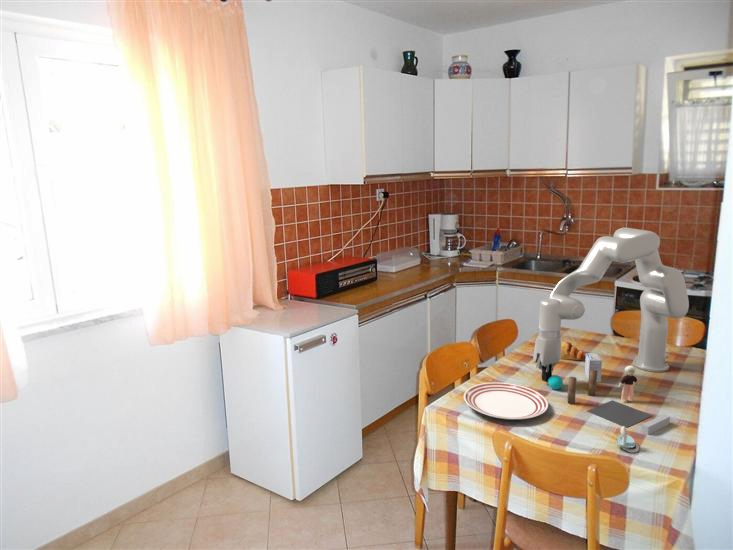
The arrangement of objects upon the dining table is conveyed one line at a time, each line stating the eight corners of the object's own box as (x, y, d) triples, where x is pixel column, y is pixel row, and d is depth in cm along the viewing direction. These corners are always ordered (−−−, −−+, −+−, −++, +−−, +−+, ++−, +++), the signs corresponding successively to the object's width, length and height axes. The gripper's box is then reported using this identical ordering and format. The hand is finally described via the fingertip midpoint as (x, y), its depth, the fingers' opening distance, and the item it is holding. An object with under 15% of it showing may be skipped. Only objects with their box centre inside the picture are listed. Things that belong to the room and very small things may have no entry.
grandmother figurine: (625, 405, 183) (628, 369, 180) (615, 401, 186) (618, 365, 184) (640, 400, 186) (643, 365, 184) (630, 396, 190) (633, 361, 187)
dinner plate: (562, 406, 183) (563, 397, 183) (520, 435, 165) (520, 425, 164) (492, 384, 203) (492, 376, 202) (447, 407, 184) (447, 398, 183)
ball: (556, 371, 199) (566, 378, 195) (554, 382, 201) (564, 389, 197) (546, 374, 197) (556, 381, 192) (544, 386, 199) (554, 393, 194)
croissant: (536, 360, 236) (532, 346, 232) (545, 344, 241) (542, 331, 237) (584, 370, 222) (581, 356, 218) (593, 354, 227) (591, 340, 223)
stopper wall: (663, 421, 171) (663, 414, 171) (669, 423, 170) (670, 416, 169) (641, 432, 165) (642, 424, 164) (647, 434, 163) (648, 427, 163)
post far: (570, 400, 187) (571, 376, 185) (576, 403, 185) (578, 378, 183) (565, 402, 186) (567, 377, 184) (571, 404, 184) (573, 379, 182)
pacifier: (639, 444, 158) (617, 439, 161) (642, 425, 157) (619, 420, 160) (638, 456, 152) (614, 451, 155) (641, 436, 151) (617, 430, 153)
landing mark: (612, 400, 186) (612, 400, 186) (652, 415, 175) (652, 415, 175) (586, 411, 179) (586, 410, 179) (626, 427, 168) (627, 427, 167)
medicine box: (600, 382, 202) (602, 360, 200) (588, 382, 203) (589, 359, 201) (596, 374, 209) (597, 353, 208) (584, 374, 210) (585, 352, 209)
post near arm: (590, 392, 193) (592, 368, 191) (596, 395, 191) (598, 370, 189) (586, 394, 192) (588, 370, 190) (592, 396, 190) (594, 372, 188)
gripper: (554, 327, 204) (551, 373, 207) (526, 334, 196) (524, 382, 200) (571, 332, 197) (568, 379, 201) (543, 339, 190) (540, 389, 193)
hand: (546, 380), depth 200 cm, fingers closed
